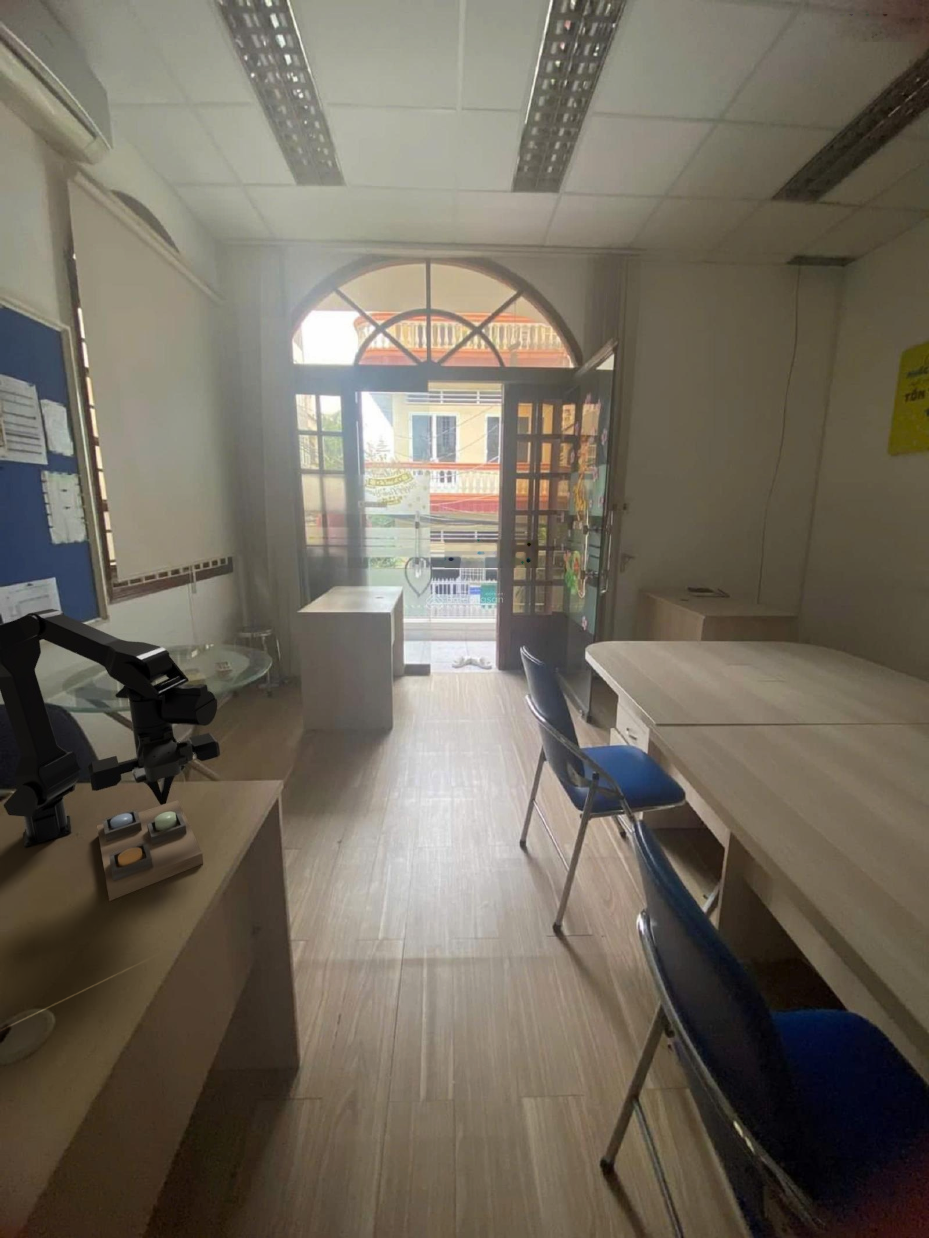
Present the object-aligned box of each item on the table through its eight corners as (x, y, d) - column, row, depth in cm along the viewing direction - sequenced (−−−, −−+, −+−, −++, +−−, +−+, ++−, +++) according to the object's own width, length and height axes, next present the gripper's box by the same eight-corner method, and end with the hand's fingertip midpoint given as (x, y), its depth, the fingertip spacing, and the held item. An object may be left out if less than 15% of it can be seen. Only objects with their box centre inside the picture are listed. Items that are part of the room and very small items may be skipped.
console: (98, 835, 89) (95, 817, 88) (179, 808, 97) (177, 792, 97) (109, 901, 74) (106, 880, 74) (203, 863, 83) (201, 844, 82)
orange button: (118, 861, 79) (116, 852, 79) (141, 853, 81) (140, 844, 81) (120, 872, 77) (119, 863, 76) (144, 863, 79) (143, 854, 78)
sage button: (154, 824, 87) (153, 816, 87) (174, 817, 89) (173, 809, 89) (157, 833, 85) (156, 824, 84) (178, 825, 87) (177, 817, 87)
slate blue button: (110, 825, 88) (109, 817, 88) (131, 818, 90) (130, 811, 90) (112, 834, 86) (111, 826, 85) (134, 827, 88) (133, 819, 87)
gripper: (86, 755, 71) (101, 849, 74) (224, 722, 83) (232, 804, 86) (82, 729, 79) (95, 815, 83) (208, 702, 91) (215, 778, 94)
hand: (162, 803), depth 86 cm, fingers closed
